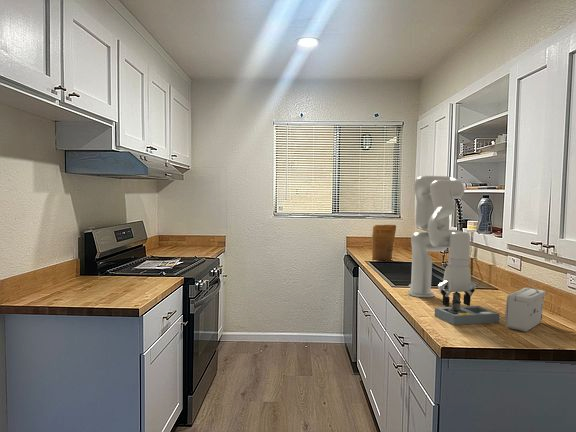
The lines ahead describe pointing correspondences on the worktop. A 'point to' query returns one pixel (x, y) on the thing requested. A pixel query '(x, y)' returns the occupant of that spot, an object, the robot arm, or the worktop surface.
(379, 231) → the pancake mix bag
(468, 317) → the socket board
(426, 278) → the robot arm
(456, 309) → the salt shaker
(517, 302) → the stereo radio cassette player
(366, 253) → the worktop surface
